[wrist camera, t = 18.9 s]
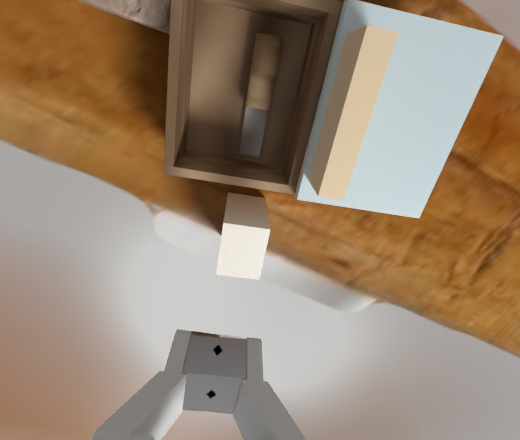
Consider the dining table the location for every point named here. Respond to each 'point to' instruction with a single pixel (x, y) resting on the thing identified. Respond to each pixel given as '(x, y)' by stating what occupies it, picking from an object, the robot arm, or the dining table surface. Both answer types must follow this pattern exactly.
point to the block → (243, 236)
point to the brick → (138, 11)
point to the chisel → (259, 92)
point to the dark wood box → (243, 88)
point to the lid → (391, 108)
